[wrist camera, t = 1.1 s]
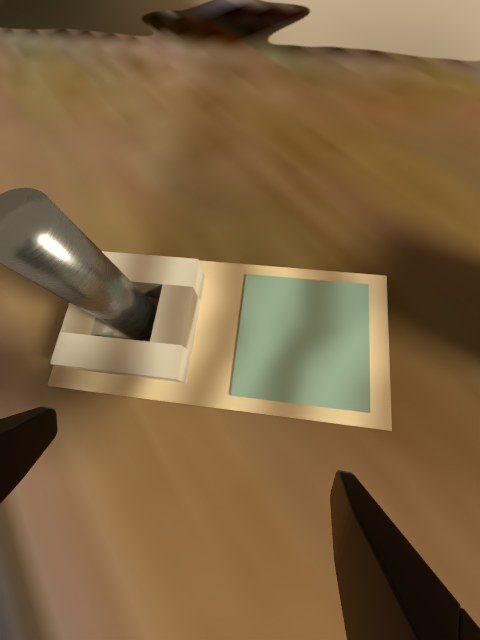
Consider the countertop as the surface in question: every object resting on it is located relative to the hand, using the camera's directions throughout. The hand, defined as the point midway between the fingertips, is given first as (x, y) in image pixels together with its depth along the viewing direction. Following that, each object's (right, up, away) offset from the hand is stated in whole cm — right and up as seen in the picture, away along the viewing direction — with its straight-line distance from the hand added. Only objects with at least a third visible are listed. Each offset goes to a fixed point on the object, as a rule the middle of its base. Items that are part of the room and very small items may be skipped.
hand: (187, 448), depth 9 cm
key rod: (-6, +4, +15) cm, 16 cm away
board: (0, +3, +15) cm, 15 cm away
